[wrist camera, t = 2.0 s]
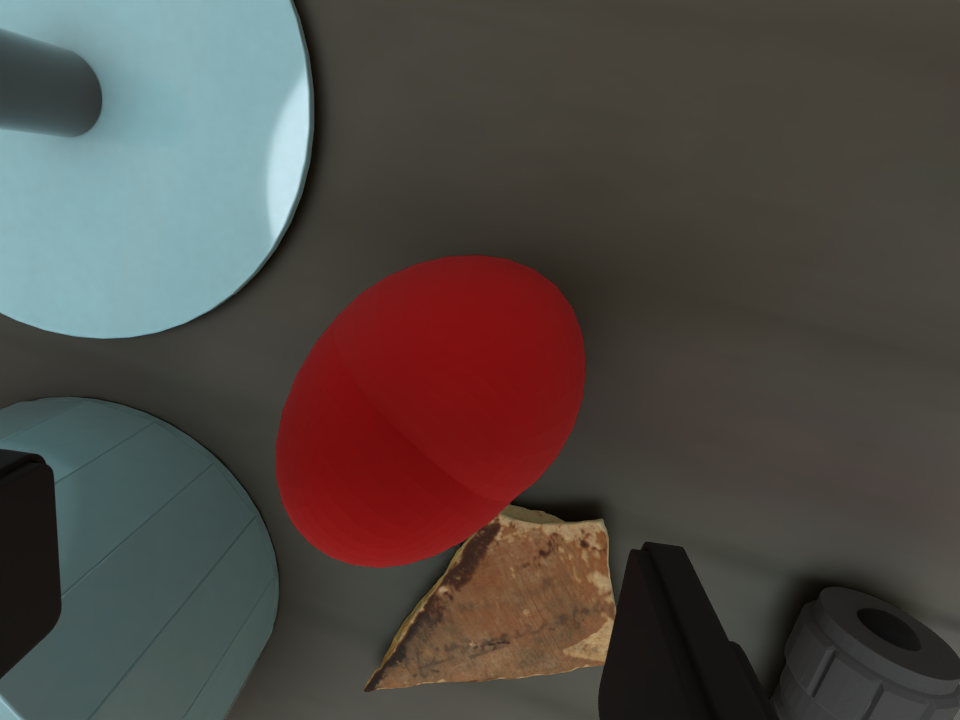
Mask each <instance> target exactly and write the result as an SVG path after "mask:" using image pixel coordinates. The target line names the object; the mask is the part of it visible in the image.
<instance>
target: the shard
mask: <svg viewBox="0 0 960 720" xmlns="http://www.w3.org/2000/svg"><path fill="white" fill-rule="evenodd" d="M608 553H609V537H608V532H607V529H606V527H605V524H604V520H603V519H597V520H586V521H579V522H565V521H563V520H561V519H559V518H558V517H556V516H553V515H550V514H547V513H545V512H544V511H538V510H529V509H526V508H523V507H519V506H514V505H508V506H507V507H505V508H504V509H503V510H502V511H501V512H500V513H499V514H498V515H497V516H496V517H495V518H494V519H493V520H492V521H491V522H489V523H488V524H487V525H485V526H484V527H482V528H481V529H480V530H478V531H477V532H475V533H474V534H473V535H471V536H470V537H469V538H468V539H467V540H466V541H465V543H464V544H463V545H462V547H460V548H459V549H458V550H457V552H456V553H455V555H454V557H453V559H452V560H451V562H450V564H449V566H448V568H447V570H446V572H445V573H444V575H443V576H442V577H441V578H440V579H439V580H438V581H437V583H436V584H435V585H434V586H433V587H432V589H431V590H430V591H429V592H428V593H427V594H426V595H425V596H424V597H423V598H422V599H421V600H420V601H419V602H418V604H417V605H416V607H415V608H414V609H413V611H412V613H411V614H410V615H409V616H408V617H407V618H406V620H405V621H404V622H403V624H402V625H401V627H400V629H399V631H398V632H397V633H396V635H395V636H394V638H393V641H392V644H391V646H390V648H389V650H388V652H387V653H386V654H385V656H384V657H383V662H382V665H381V667H380V668H379V669H377V670H375V672H374V673H373V675H372V676H371V677H370V679H369V680H368V682H367V684H366V686H365V688H364V691H365V692H370V691H373V690H378V689H383V688H397V687H410V686H416V685H419V684H423V683H439V682H460V681H461V682H478V681H488V680H494V679H500V678H503V679H517V678H524V677H529V676H534V675H550V674H556V673H561V672H568V671H572V670H575V669H576V668H581V667H588V666H602V665H605V660H606V656H607V651H608V647H609V642H610V638H611V633H612V628H613V624H614V619H615V615H616V605H615V600H614V595H613V590H612V584H611V580H610V568H609V564H608V557H609V554H608Z"/></svg>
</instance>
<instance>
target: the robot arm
mask: <svg viewBox="0 0 960 720" xmlns="http://www.w3.org/2000/svg"><path fill="white" fill-rule="evenodd" d="M61 610H62V600H61V584H60V567H59V550H58V534H57V517H56V500H55V484H54V473H53V470H52V468H51V467H50V466H49V465H47V464H46V461H45V460H44V458H43V457H42V456H40V455H39V454H35V453H28V452H21V451H14V450H7V449H0V679H1V678H2V677H3V676H4V675H5V674H6V673H8V672H9V671H10V670H11V669H12V668H13V667H14V666H15V665H16V664H17V663H18V662H19V661H20V660H21V659H22V658H23V657H25V656H26V655H27V654H28V653H29V652H30V651H31V650H32V649H33V648H34V647H35V646H36V645H37V644H38V643H39V642H40V641H42V640H43V639H44V638H45V637H46V636H47V635H48V634H49V633H50V632H51V631H52V630H53V628H54V627H55V625H56V624H57V622H58V620H59V617H60V614H61ZM598 709H599V717H600V720H779V719H778V717H777V715H776V713H775V711H774V709H773V707H772V705H771V703H770V701H769V699H768V697H767V695H766V693H765V691H764V689H763V687H762V685H761V684H760V682H759V680H758V678H757V676H756V674H755V672H754V670H753V668H752V666H751V664H750V662H749V660H748V658H747V656H746V654H745V652H744V651H743V650H742V648H741V647H740V645H738V644H737V643H735V642H732V641H729V640H728V638H727V636H726V634H725V632H724V630H723V627H722V625H721V623H720V621H719V619H718V617H717V615H716V613H715V611H714V609H713V607H712V605H711V603H710V601H709V599H708V597H707V595H706V593H705V591H704V589H703V586H702V584H701V582H700V580H699V578H698V576H697V574H696V572H695V570H694V568H693V566H692V564H691V562H690V560H689V558H688V556H687V554H686V552H685V550H684V549H683V547H680V546H673V545H666V544H660V543H653V542H645V543H644V544H643V546H642V549H641V550H636V549H632V550H631V551H630V553H629V557H628V561H627V565H626V570H625V574H624V579H623V583H622V588H621V592H620V597H619V601H618V606H617V610H616V615H615V619H614V624H613V628H612V633H611V638H610V642H609V647H608V651H607V656H606V660H605V665H604V669H603V674H602V678H601V683H600V688H599V696H598Z"/></svg>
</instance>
